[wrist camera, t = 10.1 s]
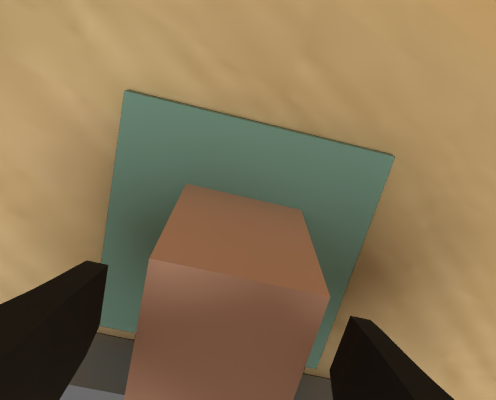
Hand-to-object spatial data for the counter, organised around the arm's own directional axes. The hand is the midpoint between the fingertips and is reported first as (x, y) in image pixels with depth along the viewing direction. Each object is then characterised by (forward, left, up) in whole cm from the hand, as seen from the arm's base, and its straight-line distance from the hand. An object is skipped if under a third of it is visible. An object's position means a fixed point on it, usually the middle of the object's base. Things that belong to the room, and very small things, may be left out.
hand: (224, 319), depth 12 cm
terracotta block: (0, 0, -5) cm, 5 cm away
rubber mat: (0, 0, -5) cm, 5 cm away
